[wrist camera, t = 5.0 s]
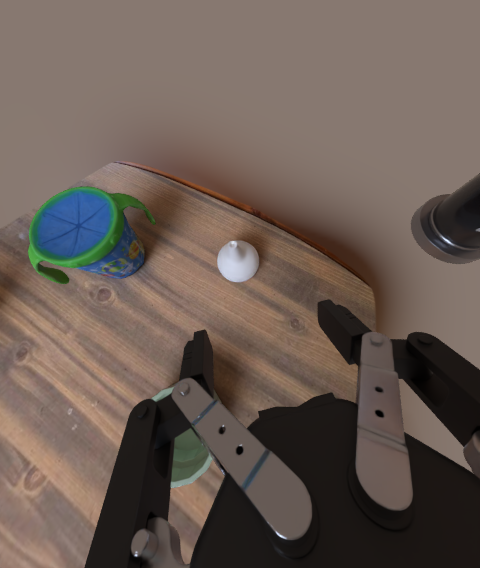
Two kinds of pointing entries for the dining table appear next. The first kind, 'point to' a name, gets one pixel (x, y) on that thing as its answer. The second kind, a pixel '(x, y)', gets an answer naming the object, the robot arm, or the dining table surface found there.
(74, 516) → the dining table surface
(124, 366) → the dining table surface
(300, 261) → the dining table surface
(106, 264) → the snack cup
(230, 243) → the garlic bulb
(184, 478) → the dish
